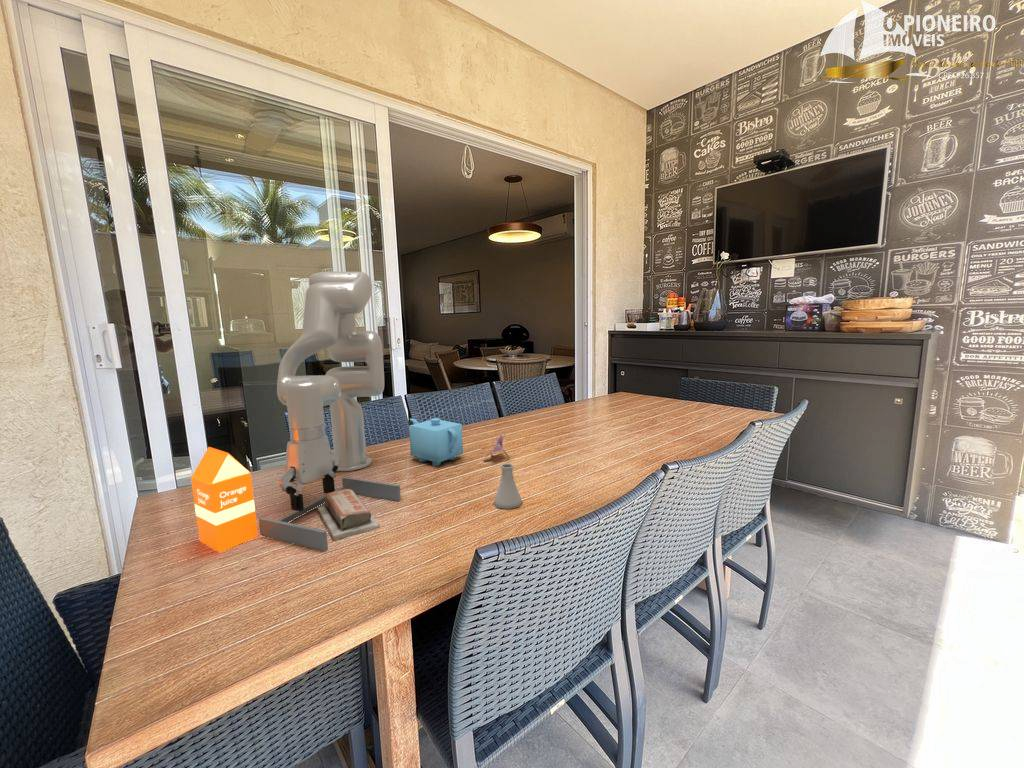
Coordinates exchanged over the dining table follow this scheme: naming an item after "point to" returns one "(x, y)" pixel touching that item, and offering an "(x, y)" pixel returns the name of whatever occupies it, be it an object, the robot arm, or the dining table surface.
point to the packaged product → (346, 514)
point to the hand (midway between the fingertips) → (314, 501)
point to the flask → (507, 489)
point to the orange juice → (223, 501)
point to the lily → (498, 446)
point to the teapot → (435, 440)
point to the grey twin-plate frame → (312, 535)
